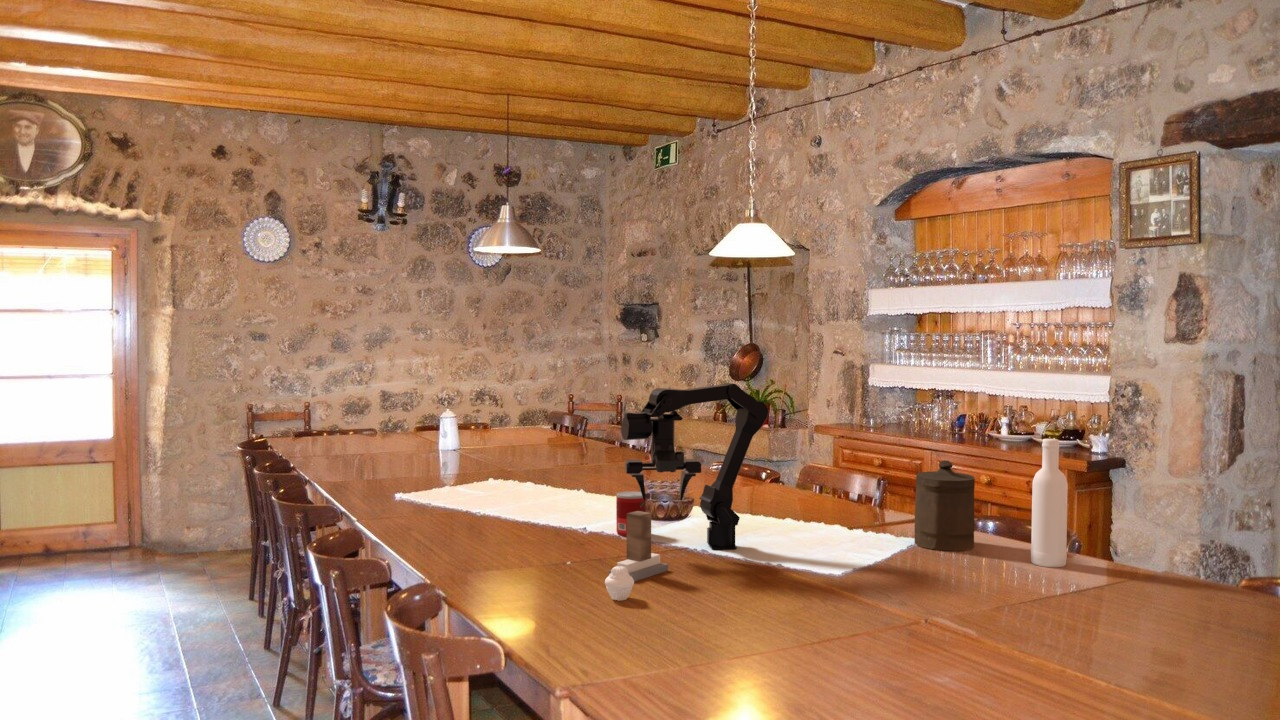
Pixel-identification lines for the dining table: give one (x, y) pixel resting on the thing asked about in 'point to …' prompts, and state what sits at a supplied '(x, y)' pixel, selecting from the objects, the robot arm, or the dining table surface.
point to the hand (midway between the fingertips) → (662, 500)
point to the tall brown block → (638, 536)
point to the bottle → (1049, 510)
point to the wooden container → (944, 509)
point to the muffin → (619, 583)
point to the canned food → (627, 508)
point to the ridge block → (644, 567)
